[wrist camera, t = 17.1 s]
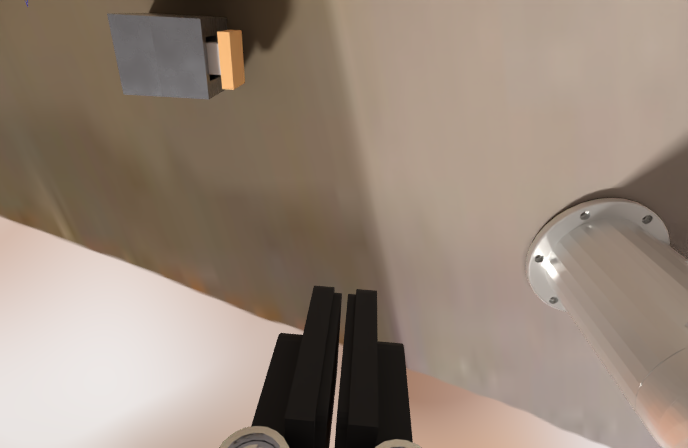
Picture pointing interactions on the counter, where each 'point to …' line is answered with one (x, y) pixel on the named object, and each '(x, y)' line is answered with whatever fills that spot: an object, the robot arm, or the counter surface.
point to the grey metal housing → (166, 54)
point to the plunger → (227, 58)
